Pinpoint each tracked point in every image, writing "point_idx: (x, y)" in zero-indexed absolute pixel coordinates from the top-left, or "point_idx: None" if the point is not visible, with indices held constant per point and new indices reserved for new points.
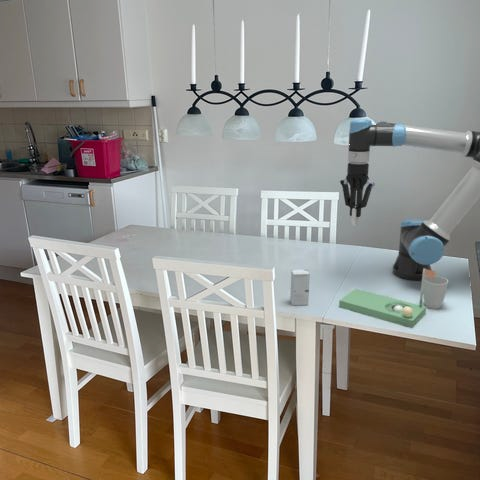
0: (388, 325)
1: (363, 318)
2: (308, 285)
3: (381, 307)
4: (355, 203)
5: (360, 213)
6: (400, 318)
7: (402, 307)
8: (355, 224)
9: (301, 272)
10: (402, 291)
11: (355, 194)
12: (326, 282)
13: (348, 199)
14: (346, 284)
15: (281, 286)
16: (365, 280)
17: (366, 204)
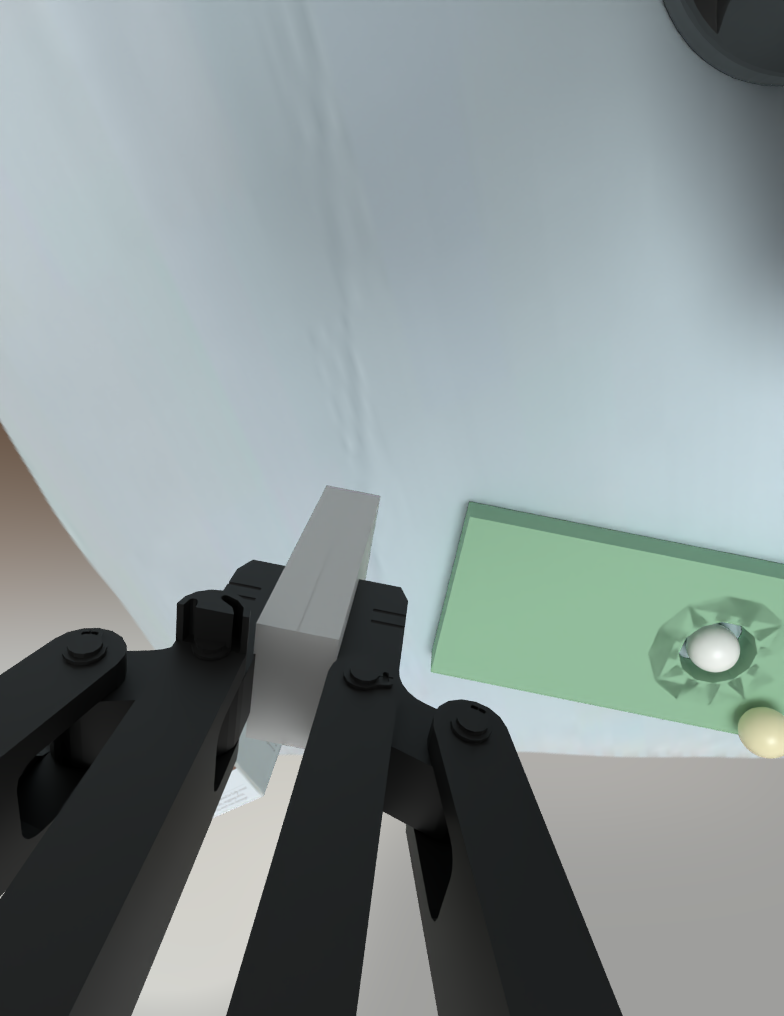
0: (664, 728)
1: (556, 709)
2: (279, 747)
3: (633, 674)
4: (230, 688)
5: (402, 633)
6: (722, 728)
7: (737, 657)
8: (365, 573)
9: (220, 801)
10: (730, 339)
11: (117, 944)
12: (269, 400)
13: (7, 736)
14: (383, 379)
15: (97, 548)
16: (476, 255)
17: (513, 768)
